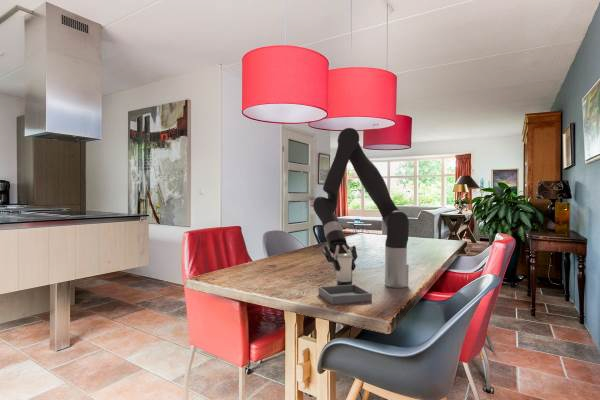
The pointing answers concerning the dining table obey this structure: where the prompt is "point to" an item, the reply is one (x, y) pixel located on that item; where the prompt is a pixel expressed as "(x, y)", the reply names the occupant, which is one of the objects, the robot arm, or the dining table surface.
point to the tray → (345, 294)
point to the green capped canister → (344, 267)
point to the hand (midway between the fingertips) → (346, 269)
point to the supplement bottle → (345, 282)
